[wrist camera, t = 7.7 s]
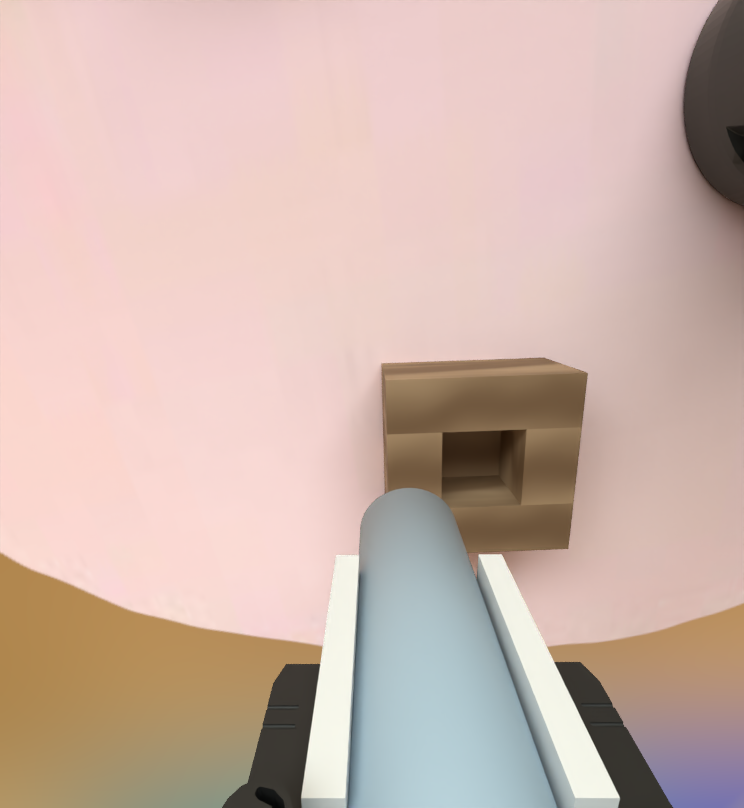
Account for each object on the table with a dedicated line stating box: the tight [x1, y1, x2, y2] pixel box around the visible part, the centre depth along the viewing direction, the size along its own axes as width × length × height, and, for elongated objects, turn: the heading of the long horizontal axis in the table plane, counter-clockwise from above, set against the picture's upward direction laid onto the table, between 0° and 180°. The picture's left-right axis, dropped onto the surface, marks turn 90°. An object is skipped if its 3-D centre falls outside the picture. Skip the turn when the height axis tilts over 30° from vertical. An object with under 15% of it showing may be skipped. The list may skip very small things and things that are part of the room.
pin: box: [348, 488, 558, 808], centre depth 10 cm, size 4×4×14 cm
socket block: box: [382, 358, 588, 553], centre depth 28 cm, size 12×12×6 cm
